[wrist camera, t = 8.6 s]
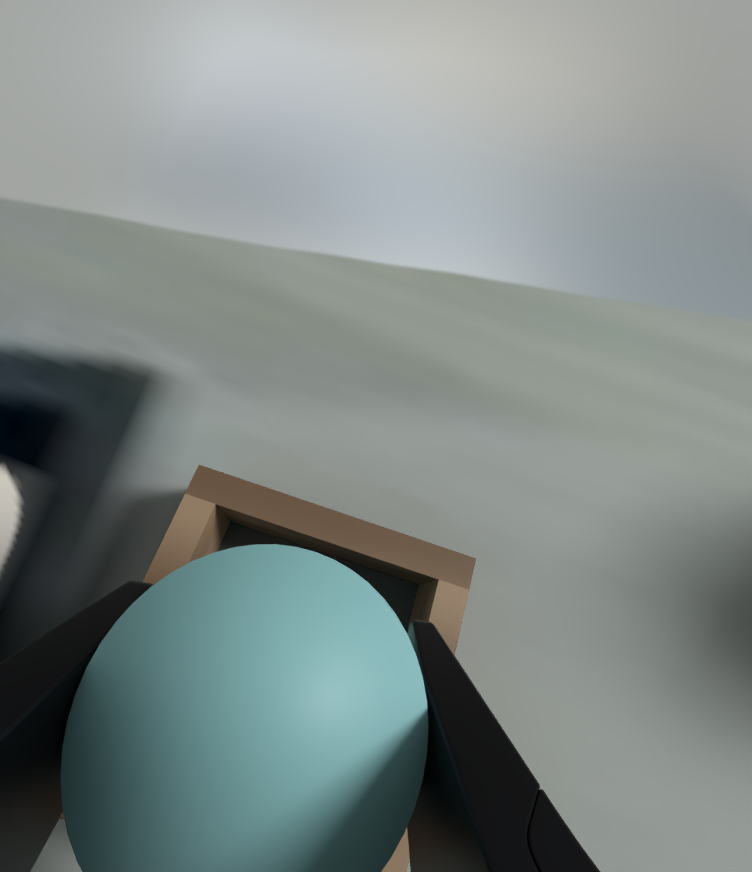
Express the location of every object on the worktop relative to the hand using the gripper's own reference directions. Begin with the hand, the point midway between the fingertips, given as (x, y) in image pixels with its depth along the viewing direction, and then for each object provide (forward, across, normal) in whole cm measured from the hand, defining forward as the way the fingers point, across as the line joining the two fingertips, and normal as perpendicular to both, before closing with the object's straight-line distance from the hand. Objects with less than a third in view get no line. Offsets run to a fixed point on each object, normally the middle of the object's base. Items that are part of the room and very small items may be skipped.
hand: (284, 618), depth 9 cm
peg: (+4, 0, +6) cm, 7 cm away
